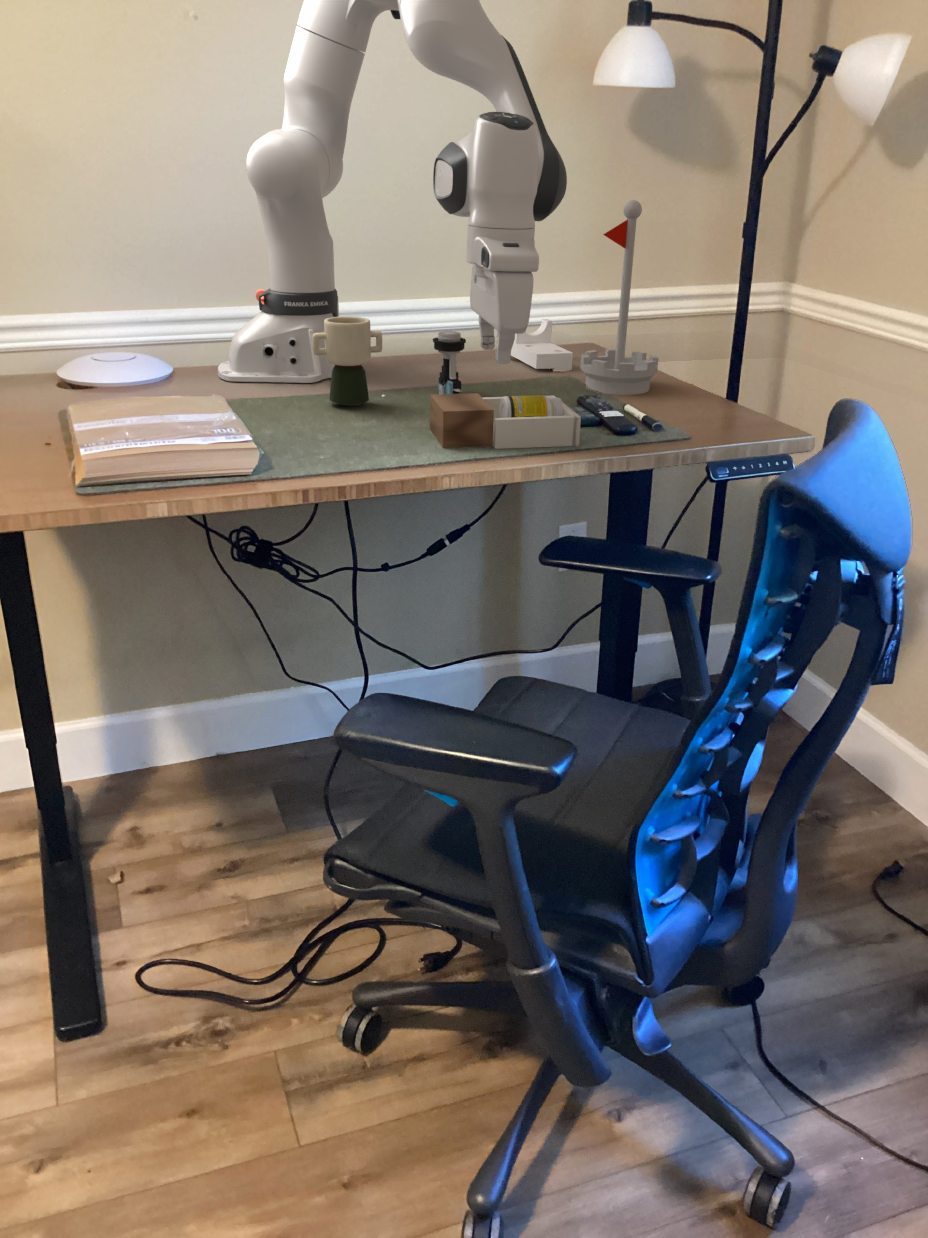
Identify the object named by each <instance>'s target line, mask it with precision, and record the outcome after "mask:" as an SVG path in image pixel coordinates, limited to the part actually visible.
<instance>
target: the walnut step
mask: <svg viewBox="0 0 928 1238" xmlns="http://www.w3.org/2000/svg"><path fill="white" fill-rule="evenodd" d="M483 398H484V397H482V396H481V395H480V393H477V392H476V393H459V394H439V393H437V394H433V393H432V394H429V418H430V419H429V430H430V431H431V432H432V433H431V434H432V435H434V437H435V439H436V440H437V441H438V443H439V444H440V446H441V447H442V449H443V448H444V449H445V448H469V447H470V448H471V447H493V420H494V410H493V409H492V407H491V406H490V405H489V404H488V403H487V402H486V401H485V400H484V399H483Z"/></svg>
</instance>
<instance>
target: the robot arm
mask: <svg viewBox="0 0 928 1238" xmlns="http://www.w3.org/2000/svg"><path fill="white" fill-rule="evenodd" d="M385 11H390V14H391V16H392V17H393V19H394V20H400V22H401V23H400V24H401V27H402V32H403V35H404V39H405V41H406V43H407V46H408V48H409V50H410V52H411V53H412V56H413V57H414V58H415V59H416V60H417V61H418V62H419V63H420V64H421V65H422V66H423V67H424V68H426V69H428V71H431V72H432V73H434V74H437V75H440V76H442V77H445V78H447V79H450V80H453V81H455V82H458V83H460V84H463V85H465V86H466V87H469V88H471V89H473V90H475V91H477V92H478V93H480V94H482V95H483V96H484V97H485V98H486V99H487V100H488V101H489V102H490V103H491V104H492V107H494V109H495V111H487V112H484V113H481V114H480V115H478V116H477V117H476V119H475V121H474V125H473V129H472V130H471V131H470V132H468V134H466V135H465V136H464V137H462V138H460V139H458V140H457V141H451V142H449V143H448V144H446V145H445V147H443V149H442V150H441V151H440V152H439V153H438V155H437V157H436V158H435V160H434V163H433V164H434V165H433V172H432V173H433V176H432V181H433V182H432V183H433V184H432V185H433V195H434V198H435V199H436V201H437V202H438V203H439V205H440V206H441V208H443V210H445V212H446V213H447V214H449V215H454V216H456V217H461V218H468V222H467V232H466V233H467V235H466V237H467V240H466V256H465V257H466V262H467V263H468V264H470V265H471V264H472V267H471V280H470V292H469V303H470V305H469V306H470V309H471V311H473V313H476V315H478V325H479V326H478V327H479V333H480V341H479V342H480V347H481V349H483V350H484V351H492V350H494V352H495V356H494V360H495V361H496V362H497V363H498V364H500V365H507V364H510V363H511V350H512V346H513V343H514V340H515V334H522V333H525V332H526V331H527V328H528V325H529V322H530V316H531V309H532V308H531V307H532V301H533V293H534V274H533V273H537V272H538V271H539V266H540V256H539V253H538V251H537V249H536V246H535V245H536V242H535V234H536V233H535V231H536V222H542V221H544V220H545V219H546V218H548V217H549V216H550V215H551V214H553V212H554V211H556V209H557V208H558V207H559V205H560V204H561V202H562V201H563V199H564V197H565V195H566V191H567V184H568V178H567V177H568V176H567V175H568V174H567V170H566V165H565V162H564V161H563V157H562V155H561V153H560V152H559V151H558V149H557V146H556V145H555V144H554V142H553V140H552V139H551V137H550V135H549V133H548V131H547V127H546V126H545V123H544V121H543V119H542V115H541V113H540V110H539V108H538V105H537V102H536V101H535V98H534V95H533V91H532V90H531V87H530V84H529V81H528V80H527V77H526V74H525V71H524V69H523V66H522V65H521V61H520V59H519V57H518V54H517V53H516V51H515V49H514V47H513V45H512V44H511V42H509V41H508V40H507V39H506V38H505V37H504V36H503V34H501V33H500V32H499V31H498V29H496V27H495V25H494V24H493V23H492V21H491V20H490V18H489V17H488V16H487V13H486V12H485V10H484V8H483V6H482V3H481V2H480V0H303V3H302V5H301V10H300V12H299V16H298V19H297V25H296V27H295V32H294V35H293V38H292V42H291V46H290V50H289V54H288V59H287V62H286V66H285V71H284V75H283V88H284V109H283V119H282V126H281V128H277V129H273V130H270V131H268V132H266V133H264V134H263V135H262V136H260V137H258V138H257V140H255V141H254V142H253V144H252V145H251V146H250V147H249V151H248V153H247V155H246V160H245V161H246V162H245V168H246V175H247V178H248V180H249V183H250V184H251V186H252V188H253V190H254V192H255V194H256V199H257V202H258V207H259V210H260V211H259V212H260V216H261V220H262V223H263V228H264V233H265V239H266V243H267V244H266V246H267V257H268V258H267V260H268V262H267V263H268V275H269V277H268V278H269V288H268V289H266V290H265V289H263V288H259V289H257V290H256V292H255V294H254V295H255V298H256V300H257V301H258V305H259V306H258V309H259V311H260V312H259V313H257V314H256V315H255V316H253V317H252V318H251V319H250V320H249V321H248V322H247V323H246V324H244V325H243V326H242V327H241V328H240V329H239V330H237V331H236V332H235V333H234V335H233V336H232V338H231V341H230V346H229V350H228V351H229V352H228V353H229V354H228V355H229V356H228V360H226V361H223V362H221V363H220V364H219V365H218V367H217V375H218V377H219V378H220V379H222V380H225V381H227V382H243V383H244V382H245V383H248V382H250V383H253V382H254V383H301V384H302V383H304V384H305V383H306V384H308V383H311V384H312V383H317V382H319V381H323V380H325V379H331V376H332V370H333V367H334V366H335V365H334V364H331V363H329V362H327V359H326V357H325V355H315V354H314V353H313V343H312V336H313V334H314V333H324V320H325V319H327V318H332V317H340V313H339V311H340V308H339V307H340V306H339V295H338V291H337V289H336V286H335V284H336V283H335V261H334V260H335V259H334V257H335V255H334V254H335V253H334V252H335V251H334V239H333V237H332V235H331V234H330V230H329V225H328V223H327V218H326V213H325V207H324V202H323V201H324V198H325V197H327V196H329V194H331V193H332V192H333V191H334V190H335V188H336V187H337V186H338V184H339V183H340V181H341V179H342V176H343V173H344V171H343V170H344V161H343V158H344V154H345V147H346V142H347V141H346V140H347V133H348V124H349V119H350V118H349V117H350V111H351V106H352V102H353V98H354V94H355V91H356V88H357V84H358V80H359V77H360V73H361V70H362V66H363V62H364V58H365V56H366V51H367V47H368V43H369V40H370V36H371V31H372V27H373V24H374V23H375V20H376V19H377V17H378V16H380V14H382V13H384V12H385ZM495 330H496V331H497V332H496V337H497V345H496V347H495V342H496V337H495ZM319 348H325V339H319Z"/></svg>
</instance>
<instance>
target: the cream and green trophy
mask: <svg viewBox="0 0 928 1238" xmlns="http://www.w3.org/2000/svg"><path fill="white" fill-rule="evenodd" d="M371 338H375V344H376V345H373V346H372V345H371V344H372V341H371ZM319 339H325V348H319ZM312 343H313V353H314V354H315V355H325V357H326V359H327V362H329V363H331V364H334V365H335V366H334V367H333V370H332V376H331V378H330V386H329V387H330V388H329V390H330V391H329V401H330V402H332V403H334V404H338V406H359V405H363V404H366V403H367V402H368V401H370V396H369V387H368V381H367V375H366V370H365V368H364V366H363V365H366V364H368V363H370V361H371V358H372V353H377V354H378V353H381V352H382V350H383V333H382V330H371V320H370V319H369V318H366V317H359V316H347V315H346V316H339V317H332V318H327V319H325V320H324V333H314V334H313V336H312Z"/></svg>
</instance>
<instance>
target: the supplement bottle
mask: <svg viewBox="0 0 928 1238" xmlns="http://www.w3.org/2000/svg"><path fill="white" fill-rule="evenodd" d="M546 396H547V395H544V394H541V395H507V396H506V395H505V396H501V397H502V399H501V401H500V406H499V416H500V418H513V417H544V416H563V404H562V402H563V401H562V399H561V397H556V398H549V399H548V398H547V397H546Z"/></svg>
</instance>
